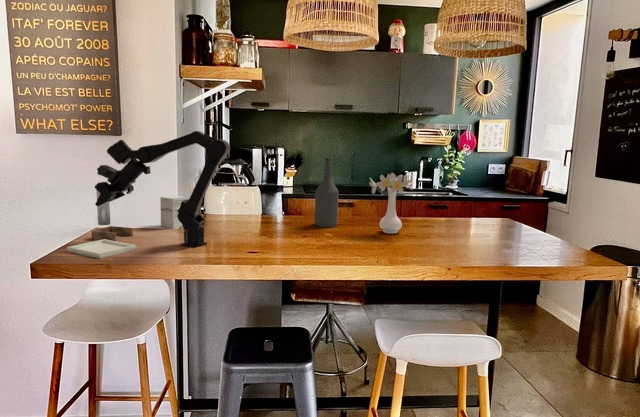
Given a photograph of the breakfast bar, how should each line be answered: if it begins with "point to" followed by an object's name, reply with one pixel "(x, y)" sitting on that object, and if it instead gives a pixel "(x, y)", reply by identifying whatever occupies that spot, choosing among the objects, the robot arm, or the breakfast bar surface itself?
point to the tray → (101, 248)
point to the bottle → (326, 200)
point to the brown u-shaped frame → (111, 233)
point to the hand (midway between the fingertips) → (99, 204)
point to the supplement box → (170, 211)
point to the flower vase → (391, 200)
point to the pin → (103, 212)
